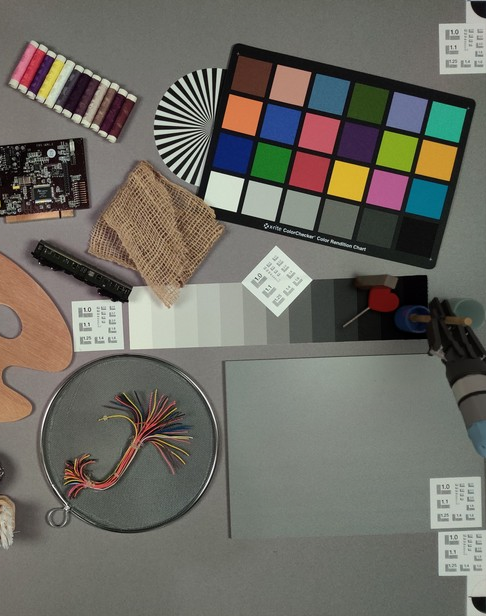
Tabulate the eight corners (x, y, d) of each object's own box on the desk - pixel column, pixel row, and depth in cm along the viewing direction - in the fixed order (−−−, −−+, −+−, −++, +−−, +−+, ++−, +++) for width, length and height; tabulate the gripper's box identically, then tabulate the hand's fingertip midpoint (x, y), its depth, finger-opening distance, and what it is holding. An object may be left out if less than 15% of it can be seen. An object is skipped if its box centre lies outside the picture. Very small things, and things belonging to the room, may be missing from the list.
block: (366, 279, 144) (398, 278, 130) (362, 289, 144) (394, 289, 130) (356, 276, 144) (387, 274, 130) (352, 286, 144) (383, 285, 130)
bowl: (423, 310, 144) (436, 311, 139) (414, 335, 144) (426, 336, 139) (399, 301, 144) (411, 301, 139) (390, 326, 144) (402, 327, 139)
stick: (417, 315, 143) (474, 318, 123) (414, 323, 143) (471, 327, 123) (409, 312, 143) (465, 315, 123) (406, 320, 143) (462, 324, 123)
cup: (424, 327, 144) (450, 329, 134) (428, 295, 144) (456, 295, 134) (455, 331, 144) (484, 334, 134) (459, 300, 144) (489, 300, 134)
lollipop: (351, 339, 144) (401, 303, 144) (353, 340, 143) (403, 303, 143) (332, 313, 143) (382, 277, 143) (334, 313, 143) (384, 276, 143)
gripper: (425, 387, 120) (397, 306, 137) (494, 402, 121) (457, 319, 137) (448, 365, 115) (416, 284, 131) (520, 380, 115) (478, 297, 132)
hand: (437, 302), depth 134 cm, fingers closed on stick, 2 cm apart
